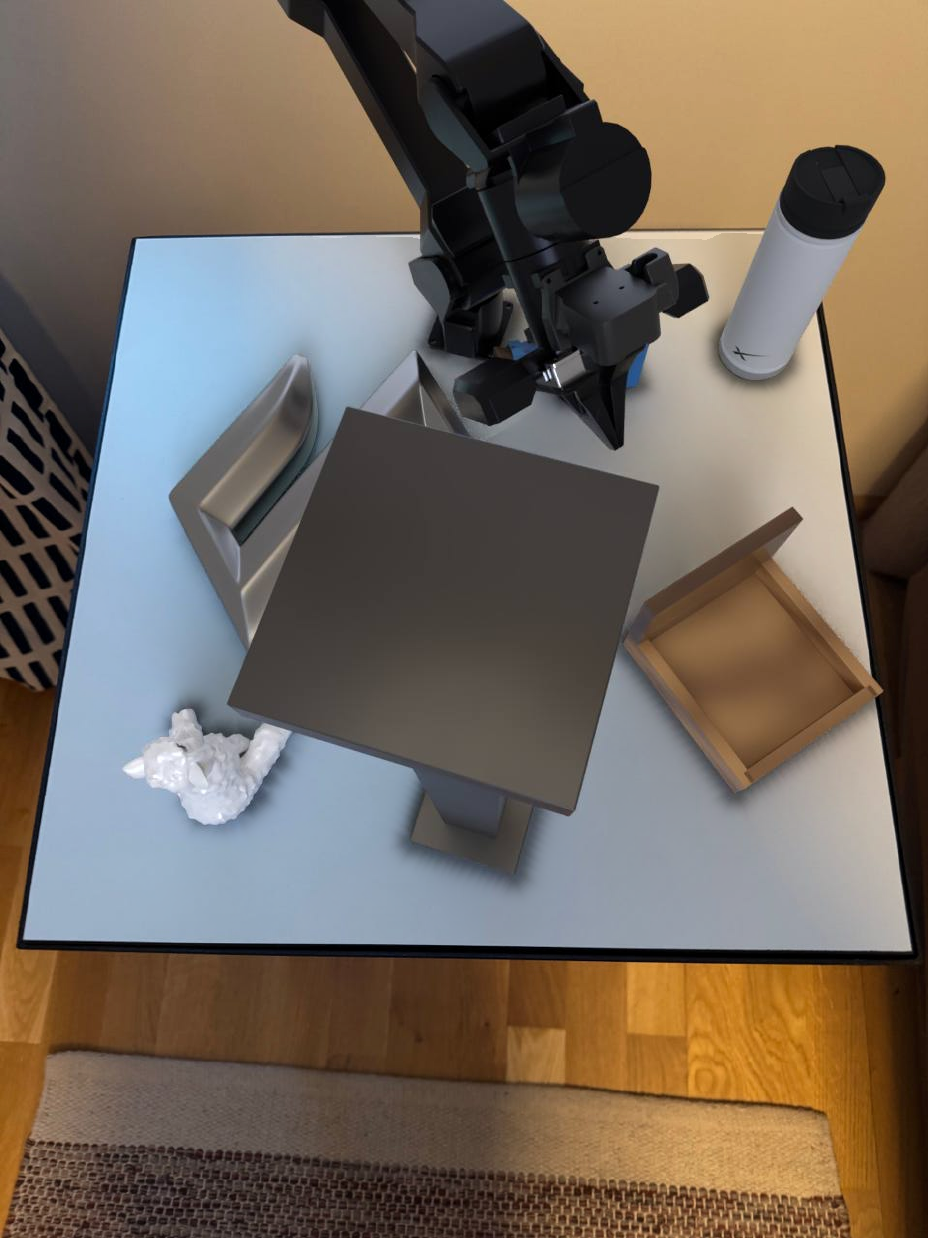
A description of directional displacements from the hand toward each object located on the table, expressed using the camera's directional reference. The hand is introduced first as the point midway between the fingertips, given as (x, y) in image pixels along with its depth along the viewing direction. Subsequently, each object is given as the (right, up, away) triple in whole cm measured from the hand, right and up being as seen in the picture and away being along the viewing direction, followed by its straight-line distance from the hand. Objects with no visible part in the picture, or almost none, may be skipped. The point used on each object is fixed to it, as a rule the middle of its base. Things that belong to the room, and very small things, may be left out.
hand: (616, 447), depth 63 cm
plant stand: (-11, -27, -1) cm, 29 cm away
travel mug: (+14, +11, +12) cm, 21 cm away
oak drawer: (+10, -17, +2) cm, 20 cm away
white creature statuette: (-30, -25, +1) cm, 39 cm away
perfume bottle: (+3, +12, +9) cm, 15 cm away
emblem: (-22, -4, +8) cm, 24 cm away
